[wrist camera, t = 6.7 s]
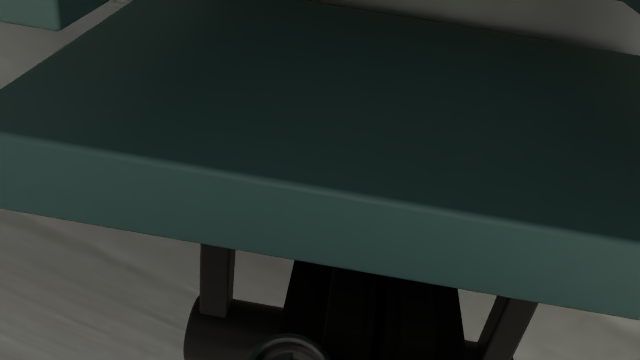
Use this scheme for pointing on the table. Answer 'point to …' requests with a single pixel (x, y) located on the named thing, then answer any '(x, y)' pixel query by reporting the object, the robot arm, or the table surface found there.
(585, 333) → the table surface
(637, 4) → the teal drawer
